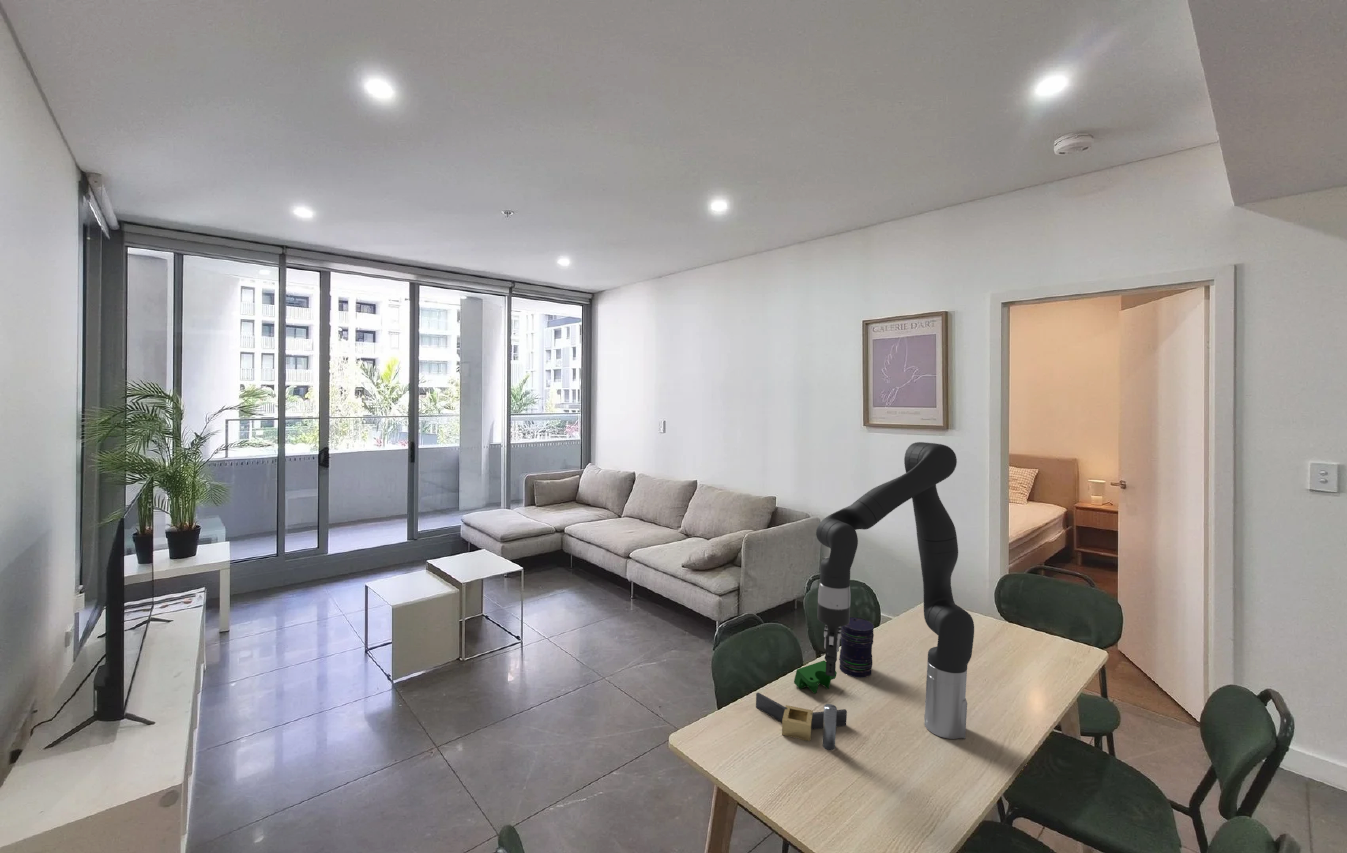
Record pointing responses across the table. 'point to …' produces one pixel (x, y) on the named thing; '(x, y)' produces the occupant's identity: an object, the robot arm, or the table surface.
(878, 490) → the robot arm
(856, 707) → the table surface
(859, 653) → the storage jar
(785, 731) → the hinge
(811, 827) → the table surface
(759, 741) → the table surface
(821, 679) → the clamp
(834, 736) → the hinge pin
